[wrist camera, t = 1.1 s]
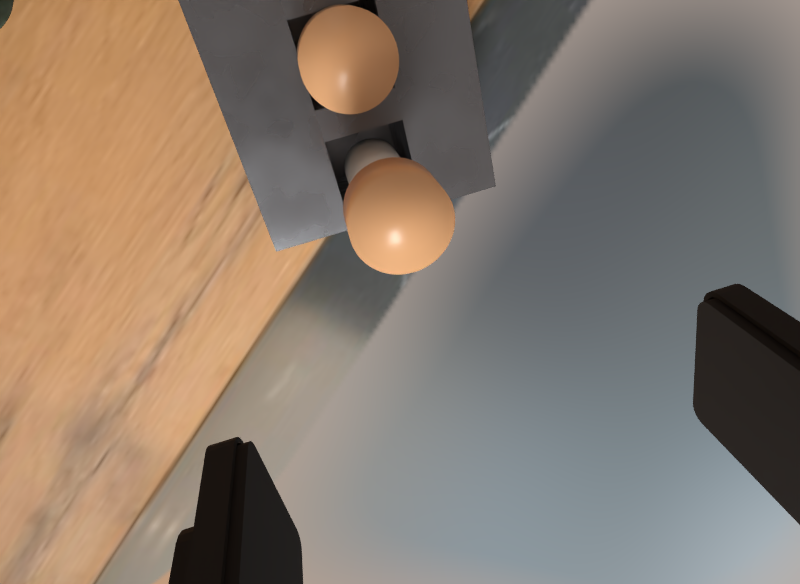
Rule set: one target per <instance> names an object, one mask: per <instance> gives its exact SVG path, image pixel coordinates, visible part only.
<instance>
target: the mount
mask: <svg viewBox="0 0 800 584" xmlns="http://www.w3.org/2000/svg"><path fill="white" fill-rule="evenodd" d="M178 1H179V3H180V6H181V8H182V11H183V13H184V16H185V18H186V21H187V24H188V26H189V29H190V31H191V34H192V36H193V39H194V42H195V44H196V47H197V49H198V52H199V54H200V57H201V60H202V62H203V65H204V67H205V70H206V72H207V75H208V77H209V80H210V83H211V85H212V88H213V90H214V93H215V95H216V98H217V101H218V103H219V106H220V108H221V111H222V113H223V116H224V118H225V121H226V124H227V126H228V129H229V131H230V134H231V136H232V139H233V142H234V144H235V147H236V149H237V152H238V154H239V157H240V160H241V162H242V165H243V167H244V170H245V172H246V175H247V177H248V180H249V183H250V185H251V188H252V190H253V193H254V195H255V198H256V201H257V203H258V206H259V208H260V211H261V213H262V216H263V219H264V221H265V224H266V226H267V229H268V231H269V234H270V236H271V239H272V242H273V244H274V247H275V249H276V251H280V250H283V249H286V248H290V247H293V246H296V245H300V244H303V243H307V242H310V241H313V240H317V239H320V238H323V237H327V236H330V235H333V234H337V233H340V232H344V231H347V226H346V223H345V219H344V214H343V201H344V196H345V193H346V190H347V188H348V186H349V183H348V180H347V177H346V174H345V168H344V165H345V159H346V156H347V154H348V152H349V151H350V149H351V148H352V147H353V146H354V145H355V144H357V143H358V142H360V141H362V140H365V139H369V138H377V139H381V140H384V141H386V142H388V143H389V144H390V145H391V146H392V147H393V148H394V149H395V150H396V152H397V153H398V155H399V156H400V157H401V158H407V159H410V160H413V161H415V162H417V163H419V164H421V165H422V166H424V167H425V168H426V169H427V170H428V171H429V172H430V173H431V174H432V175H433V177H434V178H435V179H436V180H437V182H438V183H439V184H440V185H441V187H442V188H443V189H444V190H445V192H446V193H447V194H448V196H449V198H450V200H451V199H454V198H458V197H461V196H464V195H468V194H471V193H475V192H478V191H481V190H485V189H488V188H491V187H495V186H496V185H495V179H494V172H493V166H492V159H491V153H490V146H489V140H488V133H487V127H486V121H485V114H484V108H483V101H482V95H481V89H480V82H479V76H478V69H477V63H476V56H475V50H474V44H473V37H472V31H471V24H470V18H469V12H468V5H467V0H178ZM338 4H346V5H352V6H356V7H360V8H363V9H365V10H368V11H370V12H371V13H373V14H375V15H376V16H377V17H379V18H380V19H381V20H382V21H383V22H384V23H385V24H386V25H387V27H388V28H389V29H390V31H391V33H392V34H393V36H394V39H395V41H396V44H397V48H398V53H399V70H398V75H397V78H396V81H395V84H394V86H393V88H392V90H391V91H390V93H389V94H388V96H387V97H386V98H385V99H384V100H383V101H382V102H381V103H380V104H379V105H377V106H376V107H374V108H372V109H370V110H368V111H366V112H363V113H358V114H342V113H337V112H334V111H331V110H329V109H327V108H325V107H324V106H322V105H321V104H320V103H318V102H317V101H316V100H315V99H314V98H313V97H312V96H311V94H310V93H309V92H308V90H307V89H306V87H305V85H304V83H303V80H302V78H301V74H300V70H299V66H298V61H297V46H298V41H299V37H300V34H301V32H302V30H303V28H304V26H305V24H306V23H307V22H308V20H309V19H310V18H311V17H312V16H313V15H314V14H316V13H317V12H318V11H320V10H322V9H324V8H326V7H329V6H332V5H338Z"/></svg>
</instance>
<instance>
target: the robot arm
mask: <svg viewBox="0 0 800 584" xmlns="http://www.w3.org/2000/svg"><path fill="white" fill-rule="evenodd" d="M696 332H697V333H696V353H695V373H694V374H695V375H694V394H693V407H694V411H695V413H696V415H697V417H698V419H699V420H700V422H701V423H702V424H703V425H704V426H705V427H706V428H707V429H708V430H709V431H710V432H711V433H712V434H713V435H714V436H715V437H716V438H717V439H718V441H719V442H720V443H721V444H722V445H723V446H724V447H726V449H727V450H728V451H729V452H730V453H731V454H732V455H733V456H734V457H735V458H736V459H737V460H738V461H739V462H740V463H741V464H742V465H743V466H744V467H745V468H746V469H747V471H749V473H751V475H752V476H753V477H754V478H755V479H756V480H757V481H758V482H759V483H760V484H761V485H762V486H763V487H764V488H765V489H766V490H767V491H768V492H769V493H770V494H771V495H772V496H773V497H774V498H775V500H776V501H777V502H778V503H779V504H780V505H781V506H782V507H783V508H784V509H785V510H786V511H787V512H788V513H789V514H790V515H791V516H792V517H793V518H794V519H795V520H796V521H797V522H798V523H799V524H800V322H799V321H798V320H796V319H794V318H793V317H791V316H790V315H788V314H787V313H785V312H784V311H782V310H781V309H779V308H778V307H776V306H774V305H773V304H771V303H770V302H768V301H767V300H765V299H764V298H762V297H760V296H759V295H757V294H756V293H754V292H752V291H751V290H750V289H748V288H746V287H745V286H743V285H741V284H734V285H730V286H727V287H724V288H721V289H718V290H714V291H711V292H709V293H707V294H706V295H705V297H704V301H703V302H701V303H700V304H699V305H698V310H697V331H696ZM301 550H302V549H301V542H300V537H299V534H298V531H297V529H296V527H295V525H294V523H293V521H292V519H291V517H290V515H289V513H288V511H287V509H286V507H285V505H284V503H283V501H282V499H281V497H280V495H279V493H278V491H277V489H276V487H275V485H274V483H273V481H272V479H271V477H270V475H269V473H268V471H267V469H266V467H265V465H264V463H263V461H262V459H261V457H260V455H259V453H258V451H257V449H256V447H255V445H254V444H253V442H251V441H249V442H246V443H243V441H242V440H241V439H240V438H239V437H236V438H232V439H229V440H226V441H223V442H219V443H216V444H213V445H210V446H208V447H207V449H206V453H205V459H204V465H203V472H202V478H201V484H200V491H199V497H198V504H197V510H196V516H195V523H194V527H191V528H188V529H185V530H182V531H181V533H180V534H179V536H178V539H177V542H176V546H175V552H174V557H173V562H172V568H171V573H170V579H169V584H303V571H302V551H301Z"/></svg>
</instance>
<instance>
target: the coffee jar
mask: <svg viewBox="0 0 800 584" xmlns="http://www.w3.org/2000/svg"><path fill="white" fill-rule="evenodd" d="M13 2H14V0H0V28H2V26H3V25H4V24H5V22H6V21H7V20H8V18H9V16H10V14H11V11H12V7H13Z"/></svg>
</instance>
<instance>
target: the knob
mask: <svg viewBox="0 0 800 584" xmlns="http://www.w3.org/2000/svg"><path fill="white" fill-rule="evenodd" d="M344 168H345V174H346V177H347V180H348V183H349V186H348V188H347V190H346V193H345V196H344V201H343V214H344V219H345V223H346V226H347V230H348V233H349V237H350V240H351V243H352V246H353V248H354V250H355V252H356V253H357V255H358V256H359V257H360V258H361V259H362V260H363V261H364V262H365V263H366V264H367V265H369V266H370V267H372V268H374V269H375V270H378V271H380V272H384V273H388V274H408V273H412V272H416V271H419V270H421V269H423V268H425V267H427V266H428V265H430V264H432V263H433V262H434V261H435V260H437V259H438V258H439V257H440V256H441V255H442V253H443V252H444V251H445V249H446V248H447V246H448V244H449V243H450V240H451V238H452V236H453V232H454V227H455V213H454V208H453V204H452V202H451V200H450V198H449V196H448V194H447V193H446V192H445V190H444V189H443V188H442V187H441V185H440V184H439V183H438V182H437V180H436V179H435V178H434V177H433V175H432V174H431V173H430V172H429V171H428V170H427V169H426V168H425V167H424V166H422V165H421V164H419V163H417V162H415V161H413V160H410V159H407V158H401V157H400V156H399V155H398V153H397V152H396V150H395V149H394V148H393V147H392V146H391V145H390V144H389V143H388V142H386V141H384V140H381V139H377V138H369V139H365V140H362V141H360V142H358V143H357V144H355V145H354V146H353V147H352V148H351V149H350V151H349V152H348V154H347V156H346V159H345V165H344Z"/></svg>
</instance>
